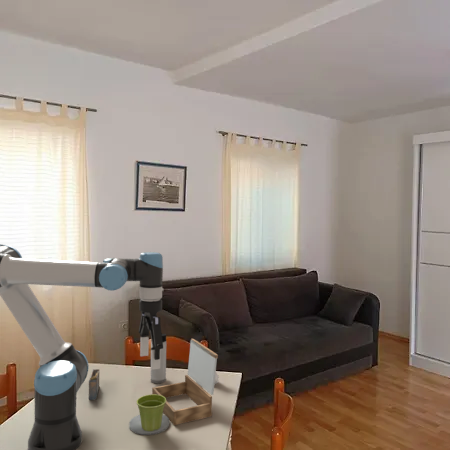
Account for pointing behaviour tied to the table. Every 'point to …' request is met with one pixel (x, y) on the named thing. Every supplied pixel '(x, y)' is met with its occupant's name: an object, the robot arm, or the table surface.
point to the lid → (202, 365)
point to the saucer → (137, 428)
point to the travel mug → (160, 374)
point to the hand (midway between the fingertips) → (149, 362)
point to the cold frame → (193, 393)
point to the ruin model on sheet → (94, 384)
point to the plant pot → (151, 411)
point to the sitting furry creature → (215, 379)
